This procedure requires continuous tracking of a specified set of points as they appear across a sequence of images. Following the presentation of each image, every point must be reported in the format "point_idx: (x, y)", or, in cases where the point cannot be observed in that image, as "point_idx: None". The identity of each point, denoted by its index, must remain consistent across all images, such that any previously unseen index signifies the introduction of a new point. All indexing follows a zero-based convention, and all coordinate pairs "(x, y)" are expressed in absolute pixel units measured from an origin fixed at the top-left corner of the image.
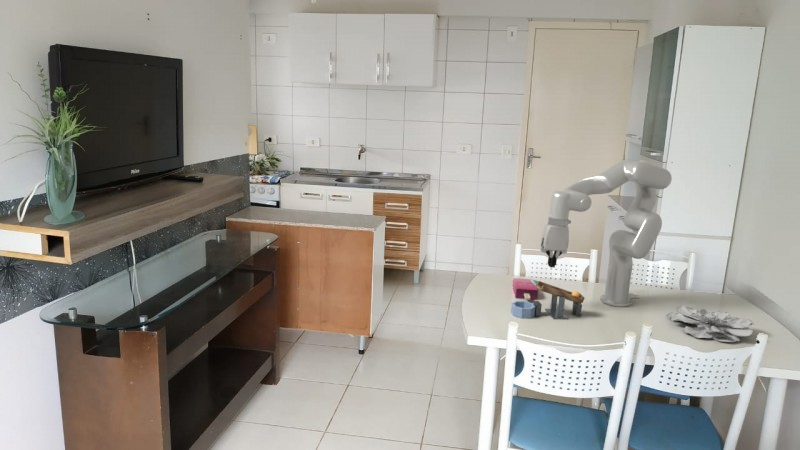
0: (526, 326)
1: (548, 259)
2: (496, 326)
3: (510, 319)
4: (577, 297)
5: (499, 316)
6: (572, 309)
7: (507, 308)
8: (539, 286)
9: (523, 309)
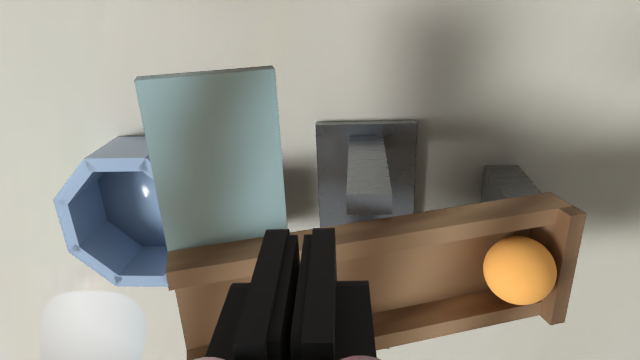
0: (156, 339)
1: (215, 348)
2: (15, 338)
3: (83, 264)
4: (502, 322)
5: (24, 228)
6: (490, 176)
7: (70, 105)
8: (184, 296)
9: (125, 284)
